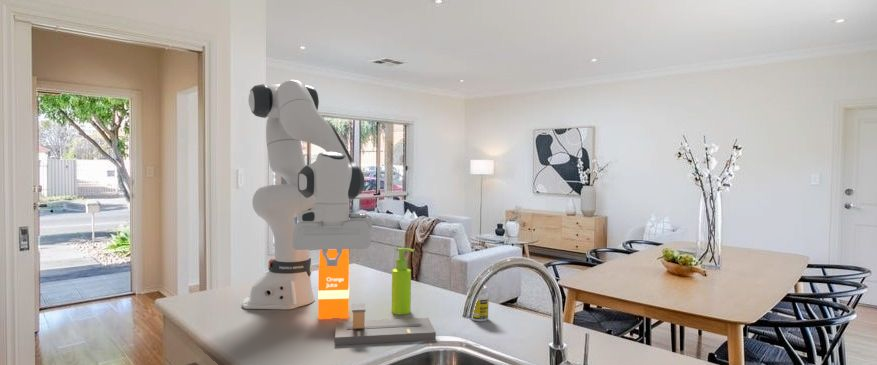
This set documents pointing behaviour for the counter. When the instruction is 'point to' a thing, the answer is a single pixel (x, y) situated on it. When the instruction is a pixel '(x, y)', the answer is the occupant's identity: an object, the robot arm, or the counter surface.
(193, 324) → the counter surface
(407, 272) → the soap dispenser
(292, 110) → the robot arm
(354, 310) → the fader tab
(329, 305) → the orange juice
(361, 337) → the board
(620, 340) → the counter surface
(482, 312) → the supplement bottle
